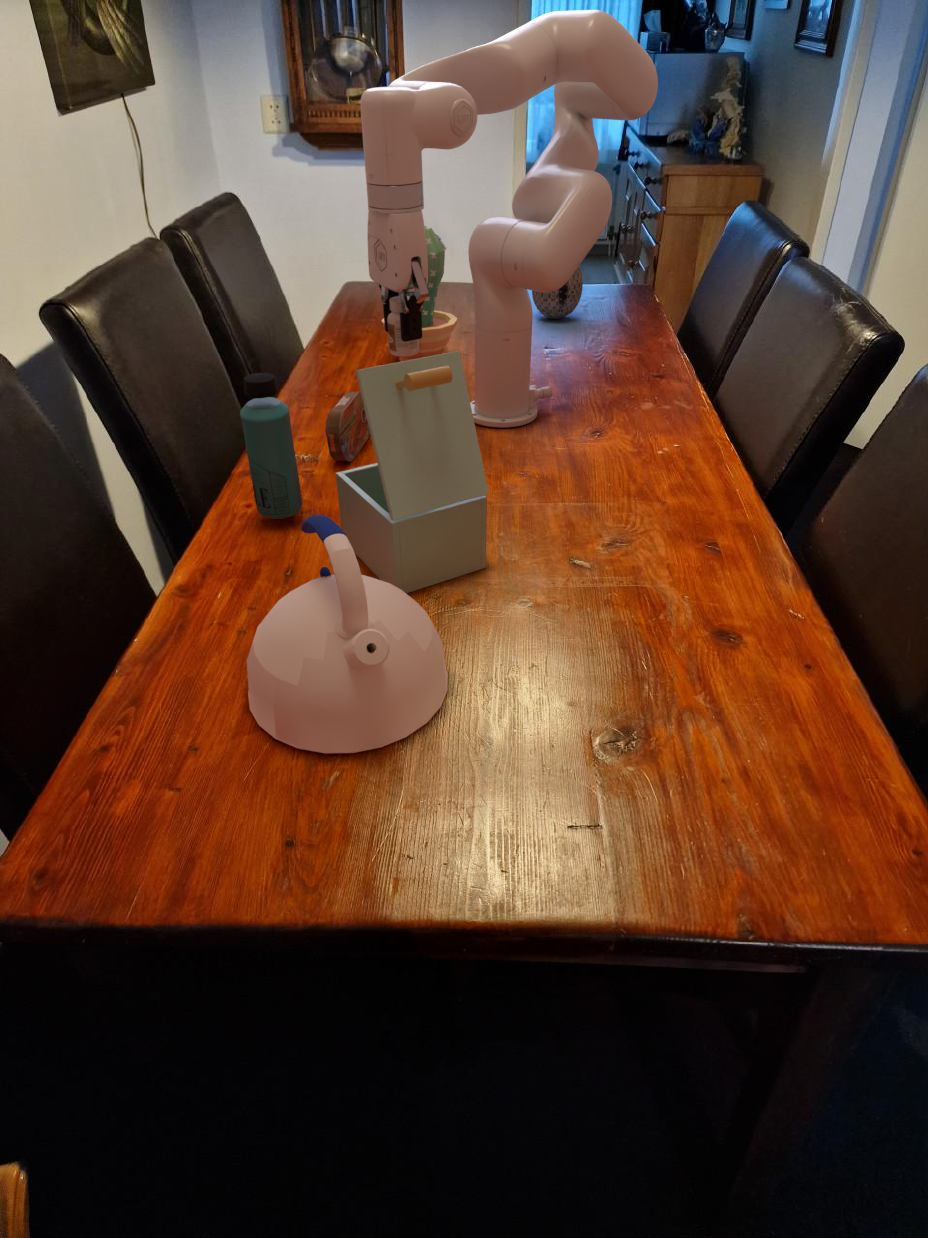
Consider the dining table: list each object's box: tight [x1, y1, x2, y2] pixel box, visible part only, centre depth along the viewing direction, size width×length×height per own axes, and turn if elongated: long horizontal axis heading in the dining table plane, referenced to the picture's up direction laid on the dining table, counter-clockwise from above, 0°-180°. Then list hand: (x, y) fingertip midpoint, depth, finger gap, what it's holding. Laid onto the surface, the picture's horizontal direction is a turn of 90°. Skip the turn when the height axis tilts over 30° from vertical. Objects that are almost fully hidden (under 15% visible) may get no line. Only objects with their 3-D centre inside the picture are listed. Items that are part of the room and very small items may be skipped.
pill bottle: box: [387, 296, 419, 358], centre depth 119 cm, size 4×4×8 cm
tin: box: [325, 391, 371, 463], centre depth 129 cm, size 15×3×8 cm, turn 168°
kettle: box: [246, 514, 449, 754], centre depth 78 cm, size 20×21×18 cm
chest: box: [335, 462, 488, 594], centre depth 102 cm, size 16×13×10 cm
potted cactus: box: [381, 225, 458, 362], centre depth 162 cm, size 15×15×25 cm
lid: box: [355, 350, 489, 520], centre depth 90 cm, size 16×13×5 cm
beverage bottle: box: [239, 372, 303, 520], centre depth 107 cm, size 6×7×20 cm
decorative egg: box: [531, 265, 584, 320], centre depth 190 cm, size 12×12×15 cm
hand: (403, 333), depth 120 cm, fingers closed on pill bottle, 4 cm apart
